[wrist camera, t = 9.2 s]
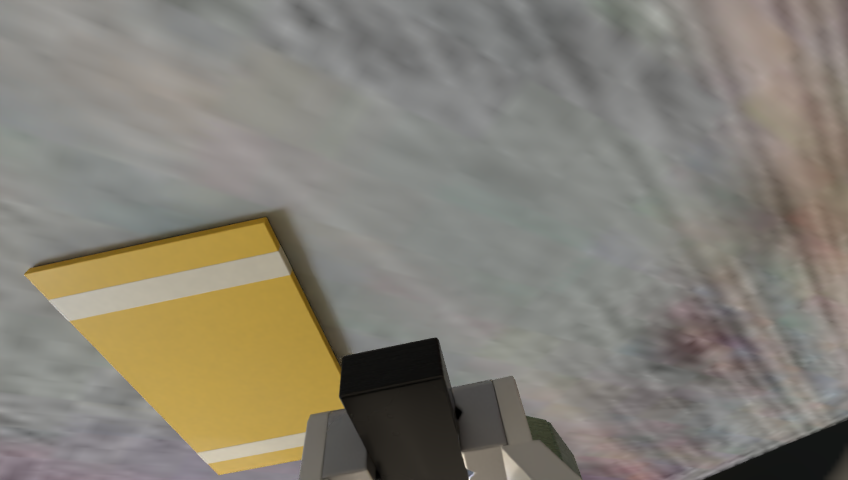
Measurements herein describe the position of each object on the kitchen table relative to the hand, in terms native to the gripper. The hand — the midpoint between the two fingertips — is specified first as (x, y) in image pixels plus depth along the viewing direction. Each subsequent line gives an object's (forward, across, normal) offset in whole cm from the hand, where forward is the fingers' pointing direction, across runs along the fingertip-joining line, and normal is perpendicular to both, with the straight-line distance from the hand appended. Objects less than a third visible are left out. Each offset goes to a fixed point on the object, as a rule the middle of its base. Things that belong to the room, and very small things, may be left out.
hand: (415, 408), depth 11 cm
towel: (+12, +12, +10) cm, 20 cm away
